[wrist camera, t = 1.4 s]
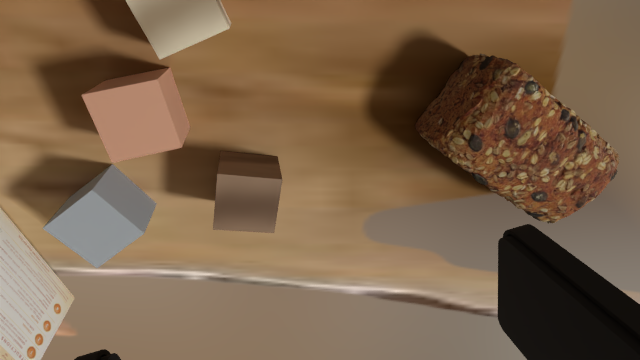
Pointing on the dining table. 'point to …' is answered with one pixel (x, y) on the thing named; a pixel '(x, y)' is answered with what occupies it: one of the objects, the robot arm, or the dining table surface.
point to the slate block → (102, 217)
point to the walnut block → (247, 192)
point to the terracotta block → (138, 114)
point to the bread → (518, 139)
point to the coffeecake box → (27, 297)
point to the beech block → (178, 22)
